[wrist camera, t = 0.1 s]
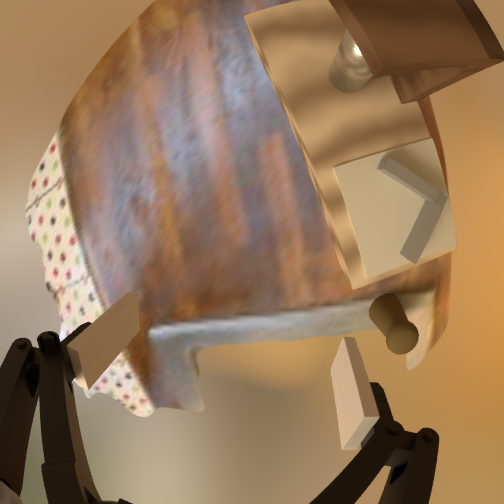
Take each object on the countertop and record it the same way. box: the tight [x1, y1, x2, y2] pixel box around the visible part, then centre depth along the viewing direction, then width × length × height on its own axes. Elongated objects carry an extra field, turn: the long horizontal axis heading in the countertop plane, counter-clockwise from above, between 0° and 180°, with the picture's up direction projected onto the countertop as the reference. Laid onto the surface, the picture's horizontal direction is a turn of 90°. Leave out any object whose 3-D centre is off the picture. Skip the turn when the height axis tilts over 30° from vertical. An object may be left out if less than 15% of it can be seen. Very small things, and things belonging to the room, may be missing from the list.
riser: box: [244, 0, 456, 290], centre depth 32 cm, size 38×16×10 cm, turn 22°
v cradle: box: [333, 138, 457, 279], centre depth 28 cm, size 14×14×3 cm
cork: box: [369, 294, 419, 354], centre depth 39 cm, size 6×6×11 cm
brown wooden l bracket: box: [329, 0, 504, 104], centre depth 18 cm, size 9×12×18 cm
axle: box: [329, 28, 373, 93], centre depth 21 cm, size 4×4×12 cm
